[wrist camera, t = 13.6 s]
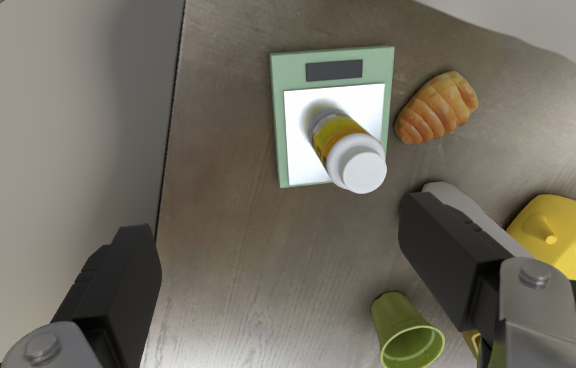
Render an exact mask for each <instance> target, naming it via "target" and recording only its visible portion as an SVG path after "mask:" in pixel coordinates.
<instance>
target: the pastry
mask: <svg viewBox="0 0 576 368" xmlns="http://www.w3.org/2000/svg"><path fill="white" fill-rule="evenodd" d="M477 108H478V100H477V97H476V94H475V92H474V90H473V89H472V88H471V87H470V86H469V83H468V82H467V81H466V80H465V79H464V78H463V77H462V76H461V75H460V74H459V73H457V72H456V71H450V72H446V73H444V74H441V75H438V76H436V77H434V78H432V79H431V80H430V81H428V82H427V83H425V84H424V85H423V86H422V87H421V89H419V90H418V91H417V93H416V94H415V95H414V96H413V97H412V98H411V99H410V101H409V102H408V103H407V104H406V105H405V106H404V108H403V109H402V110H401V112H400V113H399V114H398V117H397V119H396V121H395V124H394V130H395V132H396V134H397V136H398V137H399V138H400V139H401V140H402V142H403V143H405V144H411V145H415V144H418V143H422V142H423V143H426V142H428V141H429V140H431V139H436V138H440V137H441V136H442V135H446V134H449V133H450V132H452V131H454V130H455V128H456V126H462V125H464V124H465V123H466V122H467V121H468V118H469V115H470V114H472V113H473V112H474V111H475V109H477Z"/></svg>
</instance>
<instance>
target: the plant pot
mask: <svg viewBox="0 0 576 368" xmlns="http://www.w3.org/2000/svg"><path fill="white" fill-rule="evenodd" d="M371 314H372V318H373V321H374V325H375V328H376V331H377V335H378V339H379V342H380V360H381V363H382V365H383V366H384V367H385V368H425V367H427V366H428V365H430V364H431V363H433V362H434V361H435V360H436V359H437V358H438V357H439V355H440V354H441V353H442V351H443V348H444V345H445V339H444V336H443V334H442V333H441V331H440V330H439V329H437V328H436V327H434V326H432V325H431V324H430V323H428V322H427V321H426V320H425V319H424V318H423V317H422V315H421V314H420V313H419V312H418V311H417V310H416V309H415V308H414V306H413V305H412V304H411V303H410V302H409V300H408V299H407V298H406V297H405V296H404V295H403V294H401V293H399V292H388V293H385V294H383V295H382V296H381V297H380V298H378V299H376V300H375V301H374V302H373V304H372V306H371Z"/></svg>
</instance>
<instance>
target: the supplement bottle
mask: <svg viewBox="0 0 576 368" xmlns="http://www.w3.org/2000/svg"><path fill="white" fill-rule="evenodd" d="M311 142H312V147H313V149H314V151H315V153H316V155H317V157H318V158H319V160H320V162H321V163H322V165H323V167H324V169H325V170H326V172H327V174H328V175H329V177H330V178H331V180H332V181H333V182H334V183H335V184H336V185H338V186H339V187H341V188H344V189H348V190H350V191H352V192H355V193H359V194H364V193H368V192H371V191H373V190H375V189H376V188H378V187H379V186H380V185H381V184H382V182H383V181H384V179H385V176H386V172H387V167H386V163H385V153H384V150H383V147H382V145H381V144H380V143H379V142H378V140H376V139H375V138H374V137H373V136H372V135H371V134H370V133H368V132H367V131H366V130H365V129H364V128H363V127H362V126H360V125H359V124H358V123H357V122H356V121H355V120H353V119H352V118H351V117H349V116H347V115H344V114H331V115H328V116H326V117H324V118H323V119H321V120H320V121H319V122H318V123H317V125H316V126H315V128H314V130H313V133H312V137H311Z"/></svg>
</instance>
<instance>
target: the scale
mask: <svg viewBox="0 0 576 368" xmlns="http://www.w3.org/2000/svg"><path fill="white" fill-rule="evenodd" d="M394 48H395V47H392V46H387V45H382V46H367V47H353V48H338V49H323V50H309V51H294V52H280V53H269V61H270V75H271V89H272V104H273V118H274V132H275V146H276V160H277V174H278V182H279V186H280V188H285V187H294V186H303V185H313V184H322V183H331V182H333V181H332V180H331V178H330V177H329V175H328V174H327V172H326V170H325V169H324V167H323V165H322V163H321V162H320V160H319V158H318V157H317V155H316V153H315V151H314V149H313V147H312V142H311V137H312V133H313V130H314V128H315V126H316V125H317V123H318V122H319V121H320V120H321V119H323V118H324V117H326V116H328V115H331V114H344V115H347V116H349V117H351V118H352V119H353V120H355V121H356V122H357V123H358V124H359V125H360V126H362V127H363V128H364V129H365V130H366V131H367V132H368V133H370V134H371V135H372V136H373V137H374V138H375V139H376V140H378V142H379V143H380V144H381V145H382V147H383V150H384V153H385V161H386V148H387V136H388V123H389V111H390V98H391V86H392V73H393V61H394Z"/></svg>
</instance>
